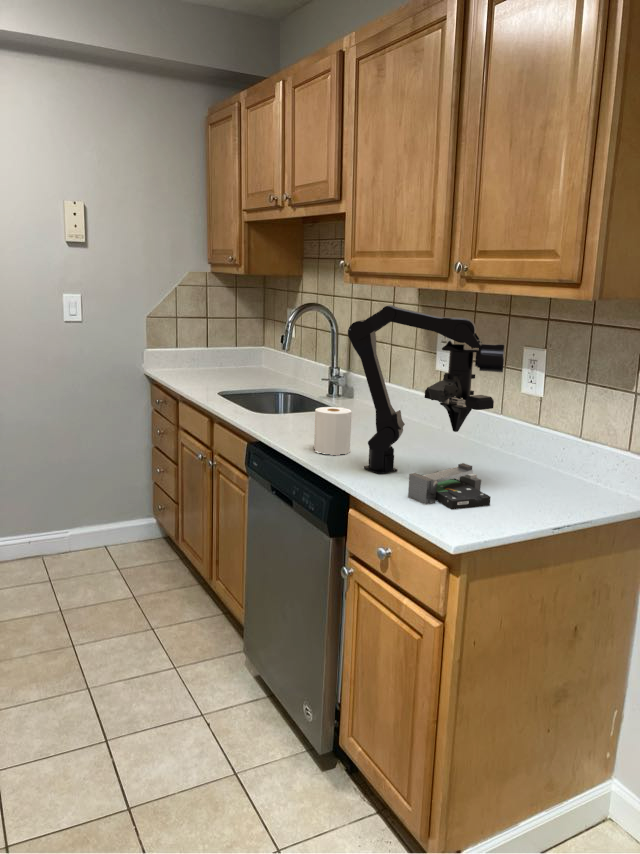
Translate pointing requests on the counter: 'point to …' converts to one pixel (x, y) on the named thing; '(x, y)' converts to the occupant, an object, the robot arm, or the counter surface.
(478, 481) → the lug
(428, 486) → the hinge bracket
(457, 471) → the grey long flat bar
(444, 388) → the robot arm
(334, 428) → the toilet paper
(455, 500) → the disk drive
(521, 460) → the counter surface
